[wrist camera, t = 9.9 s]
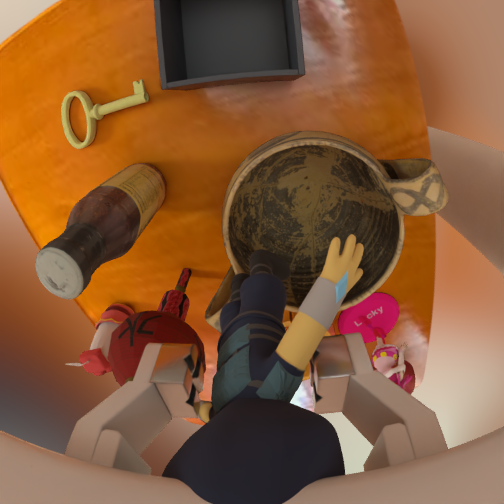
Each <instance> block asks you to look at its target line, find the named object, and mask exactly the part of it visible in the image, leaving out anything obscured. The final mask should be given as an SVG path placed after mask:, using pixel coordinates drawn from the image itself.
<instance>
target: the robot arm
mask: <svg viewBox="0 0 504 504" xmlns="http://www.w3.org/2000/svg"><path fill="white" fill-rule="evenodd" d="M197 357H198V350H197V347H196V345H195V344H177V343H148V344H147V345H146V347H145V350H144V352H143V355H142V358H141V360H140V363H139V366H138V368H137V371H136V374H135V376H134V379H133V381H128V382H127V383H125V384H124V385H123V386H122V387H121V388H119V389H118V390H117V391H115V392H114V393H113V394H112V395H110V396H109V397H108V398H107V399H105V400H104V401H103V402H102V403H100V404H99V405H98V406H96V407H95V408H94V409H93V410H91V411H90V412H89V413H87V414H86V415H85V416H84V417H82V418H81V419H80V420H78V421H77V423H76V425H75V428H74V430H73V433H72V435H71V438H70V440H69V443H68V445H67V448H66V450H65V453H64V455H63V454H60V453H57V452H54V451H51V450H48V449H45V448H42V447H40V446H37V445H34V444H31V443H29V442H26V441H24V440H22V439H19V438H17V437H14V436H12V435H10V434H7V433H5V432H3V431H1V430H0V504H211V503H209V502H207V501H205V500H203V499H202V498H200V497H199V496H198V495H197V494H195V493H194V492H193V491H192V490H191V488H190V487H188V486H187V485H186V484H185V483H183V482H182V481H180V480H178V479H174V478H168V477H160V476H153V475H150V474H151V468H150V467H149V465H147V463H146V462H145V461H144V460H143V459H142V458H141V457H140V456H139V455H140V454H141V453H142V452H143V451H144V450H145V449H146V448H147V447H148V446H149V444H150V443H151V442H152V441H153V440H154V439H155V438H156V436H157V435H158V434H159V433H160V432H161V431H162V430H163V429H164V428H165V426H166V425H167V424H168V423H169V422H170V420H172V417H179V418H198V415H199V409H200V403H201V400H200V397H199V395H198V394H199V393H200V392H201V391H202V390H203V385H204V372H203V366H202V363H201V361H199V360H198V359H197ZM309 375H310V384H311V386H312V387H313V393H312V399H313V406H314V413H316V414H324V413H334V412H342V413H343V414H344V415H345V417H346V418H347V419H348V420H349V421H350V422H351V423H352V424H353V425H354V426H355V427H356V428H357V429H358V431H359V432H360V433H361V434H362V435H363V436H364V437H365V438H366V439H367V440H368V441H369V442H370V443H371V444H372V445H373V446H374V447H373V449H372V451H371V453H370V455H369V457H368V458H367V460H366V462H365V464H364V471H365V472H360V473H354V474H349V475H341V476H335V477H328V478H323V479H320V480H317V481H315V482H313V483H311V484H309V485H307V486H306V487H304V488H303V489H302V490H301V491H300V492H299V493H297V494H296V495H295V496H294V497H292V498H291V499H290V500H288V501H286V502H284V503H282V504H504V427H502V428H499V429H497V430H495V431H493V432H491V433H488V434H486V435H484V436H482V437H479V438H477V439H474V440H472V441H469V442H467V443H464V444H461V445H459V446H456V447H453V448H450V449H448V447H447V444H446V441H445V439H444V436H443V433H442V430H441V428H440V425H439V422H438V419H437V417H436V414H435V412H433V411H432V410H431V409H429V408H428V407H426V406H425V405H423V404H422V403H421V402H420V401H418V400H417V399H415V398H414V397H413V396H411V395H410V394H409V393H407V392H406V391H405V390H403V389H402V388H401V387H399V386H398V385H397V384H395V383H394V382H393V381H391V380H390V379H388V378H387V377H386V376H384V375H383V374H382V373H380V372H379V371H377V372H374V370H373V367H372V364H371V361H370V358H369V355H368V352H367V349H366V346H365V344H364V341H363V338H362V335H361V334H360V333H359V332H357V333H349V334H343V335H342V334H341V335H333V336H324V337H323V338H322V340H321V341H320V343H319V345H318V347H317V348H316V350H315V352H314V354H313V355H312V357H311V359H310V361H309Z"/></svg>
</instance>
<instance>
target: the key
mask: <svg viewBox="0 0 504 504" xmlns="http://www.w3.org/2000/svg"><path fill="white" fill-rule="evenodd" d="M139 81H140V82H138V81H135V82H133V87H134V93H135V95H132V96H129V97H125V98H122V99H119V100H116V101H113V102H110V103H107V104H104V105H101V104H96V105H94V107H93V104H92V101H91V99H90V98H89V96H88V95H87V94H86V93H85V92H83V91H79V90H76V91H72V92H70V93H68V94H67V95H66V96H65V98H64V100H63V103H62V109H61V117H62V125H63V129H64V132H65V135H66V137H67V139H68V141H69V142H70V144H71V145H72V146H73V147H75V148H78V149H81V148H85V147H87V146H88V145H90V144H91V143H92V142H93V140H94V138H95V134H96V119H97V120H100V119H102V118H103V117H104V115H106V114H109V113H112V112H115V111H118V110H121V109H124V108H128V107H131V106H135V105H138V104H142V103H145V102H148V101H149V96H148V93H147V92H145V87H144V81H143V79H141V80H139ZM75 96H77V97H78V98H79V99H80V101H81V103H82V105H83V107H84V110H85V114H86V119H87V136H86V139H85V141H84V142H81V141H79V140H78V139H77V137H76V136H75V134H74V133H73V131H72V128H71V125H70V120H69V109H70V104H71V101H72V99H73V98H74V97H75Z"/></svg>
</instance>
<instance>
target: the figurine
mask: <svg viewBox="0 0 504 504" xmlns="http://www.w3.org/2000/svg"><path fill="white" fill-rule="evenodd" d="M398 316H399V306H398V303H397V302H396V300H395V299H394V298H393V297H391V296H390V295H387V294H384V293H372V294H371V295H370V296H368V297H367V298H366V299H364V300H363V301H361V302H359V303H358V304H356V305H354V306H350V307H349V308H347V309H344V310H343V311H342V313H341V315H340V317H339V321H338V329H339V332H340V333H341V334H342V335H343V334H349V333H357V332H359V333H360V334H361V335H362V338H363V341H364V343H369V342H373V341H376V340H377V344H378V345H376V349H375V350H373V351H374V352H373V353H372V363H373V365H374V367H375V368H376V369H377V370H375V371H374V372H377V371H379V372H380V373H382V374H383V375H384V376H386V377H387V378H388V379H390V380H391V381H393V382H394V383H395V384H397V385H398V386H399V387H401V388H402V389H403V390H404V389H405V387H404V386H405V385H406V384H407V383H408V382H409V381H410V380H411V379H412V376H413V375H412V376H410V377H409V374H408V376H407V375H406V377H407V378H406V377H405V378H403V375H404V373H405V364H404V356H403V352H404V350H405V348H407V347H406V346H407V345H408V344H407V345H406V343H407V342H406V343H405V342H404V344H405V345H406V346H405V345H403V347H402V345H401V348H398V347H396V346H395V345H391V344H390V345H387V344H385V340H384V338H385V337H386V334H387V333H388V332H390V331H391V329H392V328H393V327H394V325H395V324H396V322H397V319H398ZM398 354H399V359H398V366H397V367H395V368H391V367H392V366H393V365H395V363H396V362H397V358H398ZM408 377H409V378H408ZM405 379H406V380H405Z"/></svg>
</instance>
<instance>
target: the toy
mask: <svg viewBox="0 0 504 504" xmlns="http://www.w3.org/2000/svg"><path fill="white" fill-rule="evenodd" d="M132 314H135V313H134V311H133V310H132V309H131V308H130V307H128V306H126V305H124V304H120V303H115V304H112V305H110V306H109V307H108V308H107V309H106V310H105V312H104V313H103V314H102V316H101V319H100V320H99V321H98V322H96V329H97V332H96V334H95V336H94V339H93V341H92V344H91V347H90V350H88V351H84V352H83V353H82V354H81V355H80V358H79V359H80V362H81V364H79V363H71V364H67V365H73V366H83V367H84V369H85V370H86V371H87V372H88V373H94V375H96V376H100V375H103V374H105V373H107V372H111V371H112V369H111V366H110V364H109V361H108V358H107V357H108V351H109V346H110V340H111V335H112V332H113V331H114V330H115V329H116V328H117V327H118V326H119V325H120V324H121V323H122V322H123V321H124V320H125V319H126V318H127V317H129V316H130V315H132Z"/></svg>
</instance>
